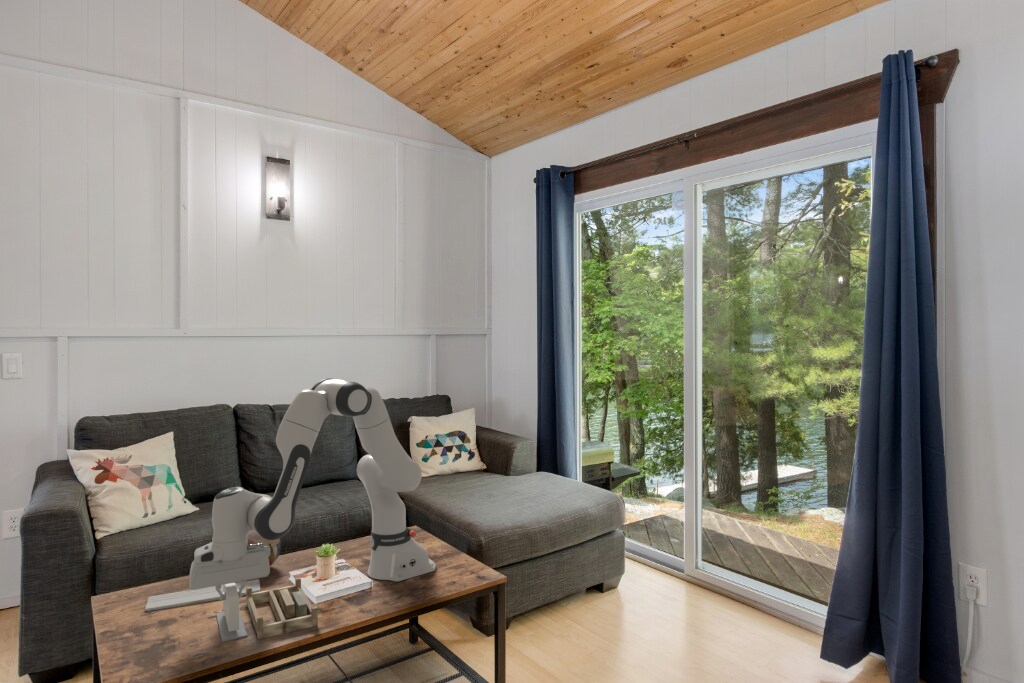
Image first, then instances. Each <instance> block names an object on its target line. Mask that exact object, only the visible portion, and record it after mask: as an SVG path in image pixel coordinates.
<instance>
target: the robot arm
mask: <svg viewBox="0 0 1024 683" xmlns="http://www.w3.org/2000/svg"><path fill="white" fill-rule="evenodd" d="M329 415H334V416H343V417H346V418H352V419H353V422H354V425H355V429H356V432H357V435H358V437H359V441H360V444H361V447H362V449H363V450H364V451H365V452H366V453H367V454H365V455H363V456H362V457H361V458H360V459H359V461H358V463H357V466H356V475H357V477H358V478H359V480H360V481H361V483H362V484H363V486H364V488H365V490H366V493H367V496H368V500H369V503H370V508H371V531H370V549H371V551H370V552H371V553H370V560H369V566H368V570H367V575H368V576H369V577H370V578H372V579H374V580H375V579H376V580H381V581H391V582H397V583H398V582H402V581H406V580H408V579H411V578H414V577H418V576H422V575H424V574H429V573H431V572H434V571H436V569H437V568H436V563H435V562H434V561H433V560H432V559H431V558H429V554H428V553H429V552H428V551H427V549H426V548H425V546H424V545H422V544H421V543H419V542H418V541H416V540H415V539H413V538H415V537H416V536H417V532H416V531H415V530H413V529H410V528H409V527H407V525H406V524H407V520H406V518H407V516H406V515H407V512H406V511H407V510H406V508H407V507H406V504H405V503H404V501H403V500H402V499H401V497H400V496H399V494H398V492H399V493H402V492H403V493H405V492H412V491H414V490H416V489H417V488H418V486H419V485H420V483H421V480H422V476H423V475H422V469H421V466H420V465H419V464H418V462H416V461H415V460H413V459H412V457H410V455H409V454H408V453H407V452H406V450H405V449H404V447H403V445H402V444H401V443H400V441H399V439H398V437H397V435H396V434H395V431H394V428H393V424H392V421H391V418H390V414H389V413H388V409H387V407H386V403H385V402H384V400H383V398H382V396H381V394H380V392H379V391H378V390H377V389H375V388H373V387H365V386H364V385H362V384H361V383H359V382H356V381H350V380H347V379H344V378H343V379H341V378H339V379H338V378H337V379H335V378H324V379H320V380H319V381H318V382H315V384H314V385H313V386H312V388H310V389H303V390H301V391H299V393H297V394H296V396H295V397H294V399H293V400H292V402H291V403H290V404H289V406H288V408H287V410H286V412H285V414H284V416H283V418H282V419H281V422H280V425H279V427H278V428H277V433H276V437H275V443H276V447H277V449H278V451H279V453H280V455H281V457H282V464H283V465H282V466H283V467H282V471H281V474H280V477H279V479H278V482H277V486H276V487H275V491H274V493H273V496H271V495H268V494H266V493H265V494H264V493H255V492H252V491H249V490H247V489H245V488H244V487H241V486H235V487H228V488H226V489H223V490H220V491H219V492H218V493H217V494H216V495H215V496H214V499H213V502H212V510H211V511H212V512H211V525H212V528H213V529H212V530H213V534H212V541H210V542H209V543H206V544H204V545H201V546H200V547H197V548H196V549H195V550H194V553H193V554H194V555H193V556H194V559H193V561H192V562H191V565H190V568H189V580H188V582H189V584H188V585H189V589H190V590H197V589H202V588H208V587H213V586H215V588H216V591H217V592H218V593H219V595H220V600H219V601H220V602H221V601H223V600H226V592H222V591H221V590H220V589H221V585H224V584H229V583H238V582H240V587H239V589H237V591H238V595H239V598H242V590H243V588H244V587H245V585H246V581H251V580H257V579H259V578H260V579H261V578H266V577H268V576H269V575H270V573H271V568H270V567H271V566H270V565H269V559H268V557H269V556H270V546H269V545H267V544H265V543H260V544H253V545H248V544H247V533H248V532H249V531H251V530H255V531H257V532H258V533H259V534H260V535H261V536H262V537H263V538H265V539H267V540H276V539H279V538H280V539H282V538H284V537H285V536H286V535H287V534H288V533H289V532H290V531H291V529H292V527H294V524H295V518H296V505H297V500H298V498H299V497H300V496H299V495H300V493H301V489H302V486H303V483H304V481H305V478H306V474H307V472H308V469H309V465H310V461H311V457H312V456H311V455H312V453H313V452H312V451H313V448H314V445H315V442H316V440H317V438H318V436H319V433H320V430H321V429H322V426H323V422H324V421H325V420H326V418H327V417H328V416H329ZM247 549H248V550H247Z"/></svg>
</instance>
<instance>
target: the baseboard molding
mask: <svg viewBox="0 0 1024 683" xmlns="http://www.w3.org/2000/svg"><path fill="white" fill-rule="evenodd" d="M235 585H236V588H237V589H239V587H240V582H235ZM246 587H252V593H256V592H261V578H256V579H251V580H246V585H245V587H244V588H243V590H242V596H246ZM220 590H221V591H222V592H223V585H221V589H220ZM218 600H219V601H220V595H219V593H218V592H217V591H216V588H215V586H213V587H208V588H202V589H197V590H192V589H189V590H182V591H177V592H170V593H169V592H168V593H163V594H158V595H151V596H148V597H147V602H146V604H145V608H144V610H145V611H147V612H152V610H153V611H157V610H165V609H169V608H177V607H182V605H183V606H188V604H189V605H195V604H201V603H207V602H213V601H218ZM176 606H177V607H176ZM164 608H165V609H164Z"/></svg>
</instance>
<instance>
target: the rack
mask: <svg viewBox="0 0 1024 683" xmlns="http://www.w3.org/2000/svg"><path fill="white" fill-rule="evenodd" d="M283 589H287V590H288V592H289V594H290V596H291V598H292V592H297V591H300V592H301V594H302V596H303V597H304V599H305V601H306V603H307V616H303V617H298V618H297V617H295V618H293V617H292V618H289V619H286V617H285V614H283V613H284V612H282V611H283V610H282V608H281V607H280V606H281V605H280V603H279V601H278V600H279V590H283ZM245 598H246V601H245V603H246V604H245V605H246V606H247V608H248V611H249V614H250V617H251V620H252V623H253V626H254V629H255V632H256V639H257V640H262V639H265V638H269V637H273V636H274V637H275V636H278V635H283V634H287V633H291V632H297V631H300V630H304V629H309V628H314V627H318V626H319V622H318V621H319V618H318V617H319V616H318V613H319V610H318V609H319V607H318V606H317V605H315V606H312V604H311V602H310V600H309V599H308V596H307V595H306V593H305V591H304V589H303V587H302V578H301V577H300V576H299V577H296V578H295V584H293V585H287V586H283V587H277V588H272V589H267V590H263V591H261V592H256V593H252V587H246V595H245ZM267 602H269V604H270V606H271V610H272V611H273V612H272V613H273V614H274V617H275V619H276V622H271V623H268V624H264V618H263V617H260V616H259V614H258V610H257V607H256V604H262V603H267Z"/></svg>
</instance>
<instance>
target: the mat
mask: <svg viewBox="0 0 1024 683" xmlns="http://www.w3.org/2000/svg"><path fill="white" fill-rule="evenodd" d="M242 617H243V616H242V615H241V610H240V609H239V630H235V631H230V632H229V630H228V626H227V621H226V617H225V613H224V611H221V612H216V620H217V624H218V629H219V635H220V639H221V642H222V643H224V642H228V641H234V640H237V639H238V640H239V639H242V638H246V637H248V634H247V631H246V627H245V624H244V621H243V618H242Z"/></svg>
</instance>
